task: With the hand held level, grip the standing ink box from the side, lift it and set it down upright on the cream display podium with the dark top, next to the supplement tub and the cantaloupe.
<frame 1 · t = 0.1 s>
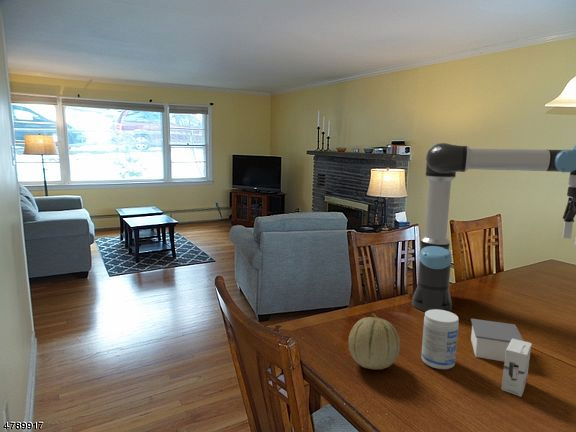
hand: (572, 242, 150), 28 cm above the table, tool pointing down, fingers open, 13 cm apart
supplement tub: (437, 362, 116), on the table
cantaloupe: (372, 366, 114), on the table
ink box: (513, 387, 105), on the table
podium: (493, 350, 123), on the table
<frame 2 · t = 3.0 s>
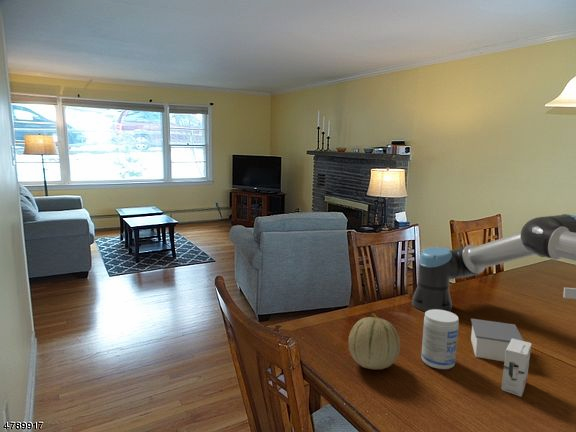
hand: (573, 300, 99), 25 cm above the table, tool horizontal, fingers open, 13 cm apart
nothing on the table moved.
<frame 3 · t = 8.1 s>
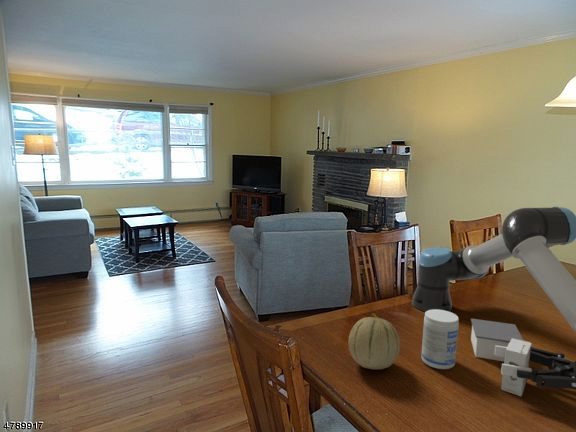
hand: (498, 359, 105), 7 cm above the table, tool horizontal, fingers closed on ink box, 9 cm apart
ink box: (513, 386, 105), on the table, touching gripper
everything else where it was.
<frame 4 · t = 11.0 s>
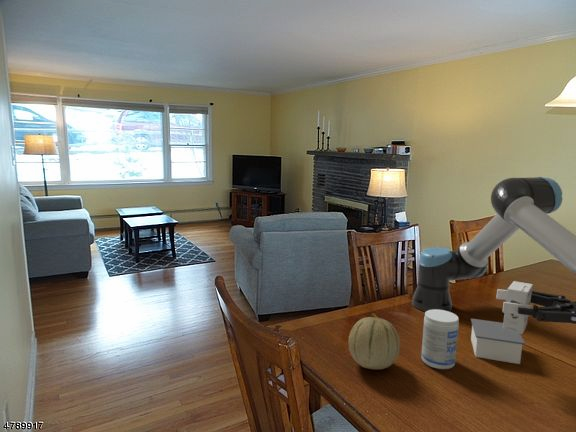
hand: (500, 300, 108), 22 cm above the table, tool horizontal, fingers closed on ink box, 9 cm apart
ink box: (515, 327, 108), point 14 cm above the table, touching gripper
everything else where it was.
when the fingers open (15 cm above the table, at t = 13.8 s): ink box drops 1 cm, resting on podium.
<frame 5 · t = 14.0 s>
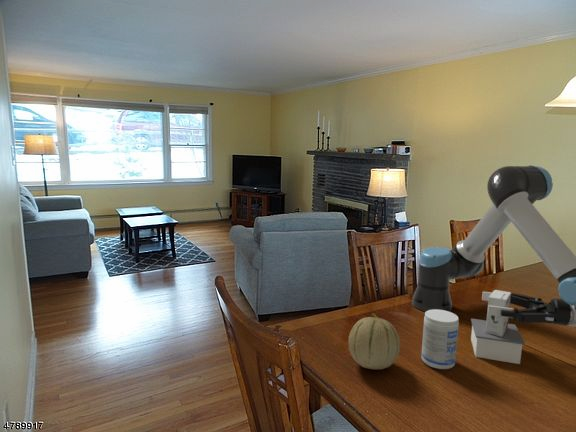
hand: (485, 302, 122), 15 cm above the table, tool horizontal, fingers open, 11 cm apart
ink box: (496, 330, 122), point 7 cm above the table, touching podium
everything else where it was.
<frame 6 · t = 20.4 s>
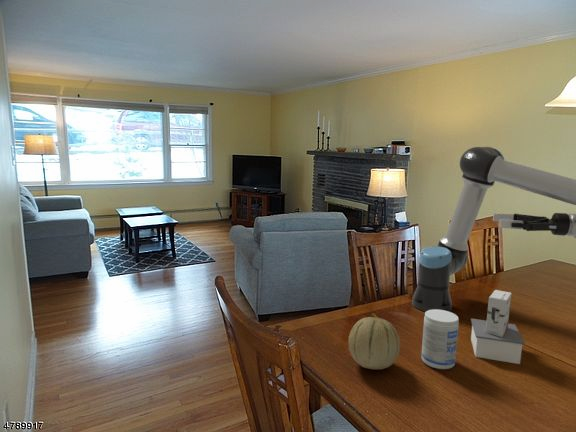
hand: (496, 220, 138), 38 cm above the table, tool horizontal, fingers open, 13 cm apart
nothing on the table moved.
at the end: ink box inside the target area on the podium (0.1 cm from its centre), point 6.8 cm above the podium's base; ink box tilted 0°; the gripper is holding nothing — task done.
